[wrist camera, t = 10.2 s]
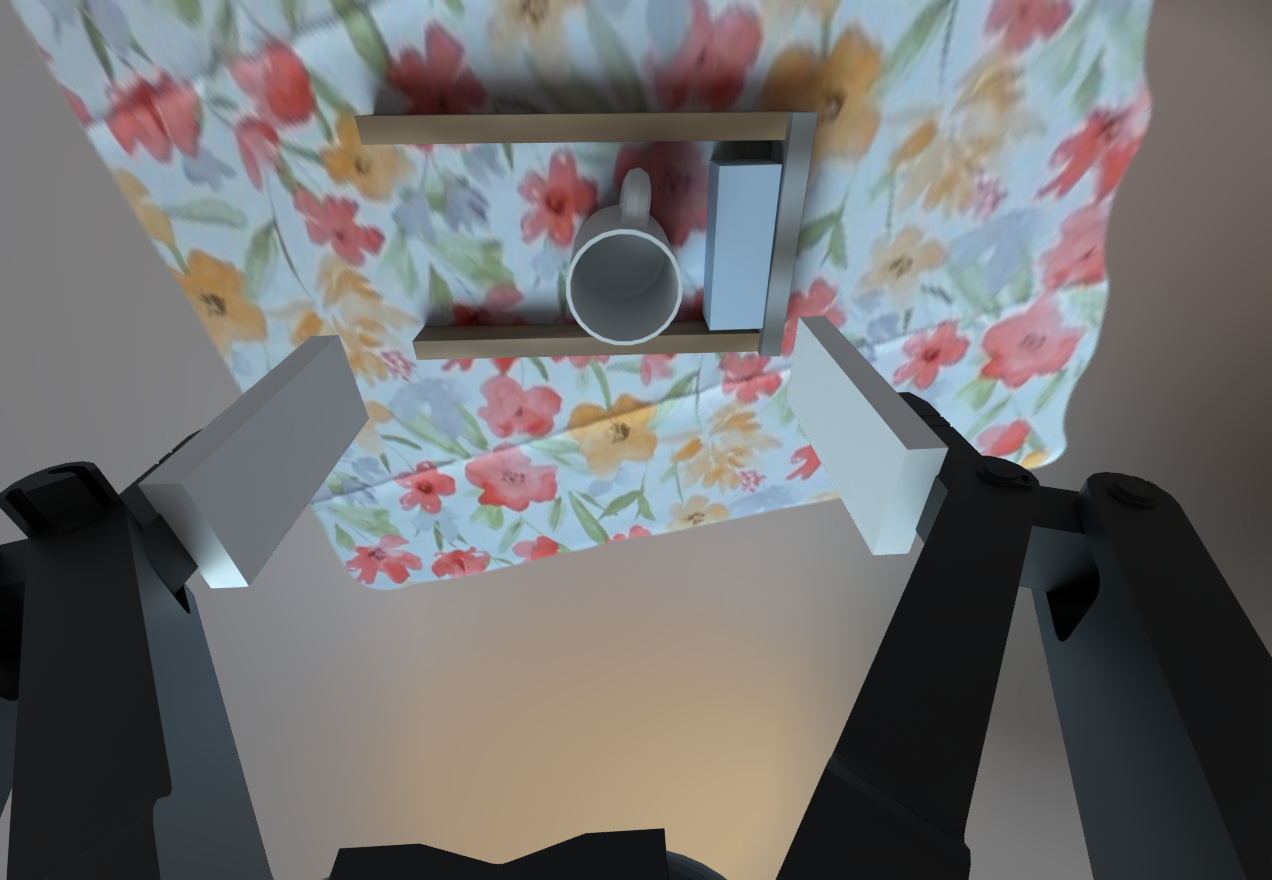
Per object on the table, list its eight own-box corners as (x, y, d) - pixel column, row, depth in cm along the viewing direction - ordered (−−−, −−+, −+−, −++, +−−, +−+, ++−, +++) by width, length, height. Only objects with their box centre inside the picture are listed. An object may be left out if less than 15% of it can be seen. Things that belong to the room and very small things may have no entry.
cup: (568, 292, 41) (560, 336, 34) (584, 150, 36) (578, 164, 28) (658, 307, 42) (669, 353, 35) (686, 170, 37) (707, 189, 29)
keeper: (719, 166, 33) (781, 164, 34) (709, 159, 37) (766, 158, 37) (709, 330, 40) (762, 328, 40) (701, 311, 43) (750, 310, 43)
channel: (373, 114, 34) (347, 116, 31) (797, 110, 35) (817, 112, 32) (428, 344, 43) (413, 365, 40) (766, 336, 44) (779, 356, 41)
